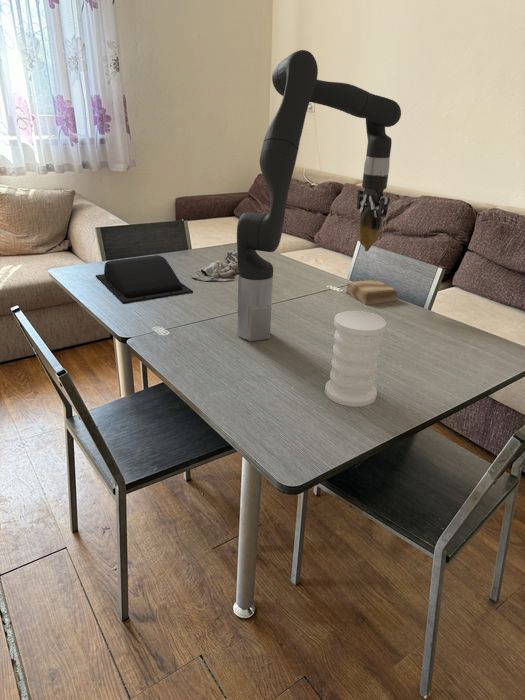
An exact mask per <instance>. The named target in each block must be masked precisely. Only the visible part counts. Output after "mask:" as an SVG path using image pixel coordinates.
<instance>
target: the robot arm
mask: <svg viewBox="0 0 525 700" xmlns="http://www.w3.org/2000/svg"><path fill="white" fill-rule="evenodd" d="M318 71H319V69H318V63H317V60H316V57H315V56H314V54H313V53H311V51H309V50H305V49H300V50H297V51H294V52H292V53H290V54H289V55H288V56H287V57H286V58H284V59H283V60H281V61H280V62H279V63H278V64H277V65H276V66H275V68H274V69H273V71H272V75H271V81H272V82H271V83H272V85H273V87H274V89H275V91H276V92H277V93H278V94H279V95H280V96H281V97H282V100H281V101H280V102H281V103H280V104H279V107H278V109H277V111H276V113H275V114H274V117H273V118H272V121H271V122H270V124H269V126H268V128H267V131H266V133H265V135H264V137H263V141H262V148H261V151H260V156H259V167H260V171H261V174H262V177H263V178H264V179H263V180H264V182H265V185H266V187H267V190H268V194H269V198H270V199H269V200H270V201H269V202H270V204H269V205H270V206H269V211H268V214H267V213H266V214H265V213H258V212H247V211H246V212H243V213H242V214H240V216H239V218H238V221H237V225H236V250H237V258H236V259H237V260H236V262H237V263H236V264H238V269H239V274H238V275H239V276H238V280H237V281H238V283H237V287H238V289H237V324H236V325H237V333H236V334H237V336H238V337H239V338H241V339H243V340H247V341H248V342H255V341H262V340H270V339H271V328H272V326H271V324H272V323H271V321H272V305H273V304H272V302H273V285H274V284H273V282H274V266H273V264H272V263H271V262H270V261H268V260H266V259H264V258H263V257H261V256H260V255H259V254H258V253H257V252H258V251H259V252H265V253H273V252H276V250H277V249H278V247H280V246H279V245H280V242H281V239H282V235H283V229H284V222H285V214H286V209H287V202H288V196H289V190H290V187H291V183H292V179H293V174H294V170H295V166H296V161H297V158H298V153H299V148H300V142H301V137H302V134H303V129H304V126H305V119H306V116H307V112H308V108H309V105H310V103H312V104H317V105H320V106H325V107H329V108H332V109H335V110H338V111H340V112H343V113H346V114H348V115H351V116H353V117H355V118H359V119H360V118H361V119H365V129H366V136H367V137H366V138H367V145H366V146H367V148H366V156H365V161H364V164H363V165H364V166H363V172H362V173H363V174H362V184H361V186H362V188H363V189H358V190H357V195H356V197H357V201H356V209H357V210H359V212H360V216H359V217H360V218H361V216H362V214H363V212H364V211H365V209H366V208H367V207H368V206H371V209H372V211H373V213H374V218H373V226H372V229H373V230H378V229H379V227H380V221H381V219H382V218H384V217H387V215H388V211H389V210H388V209H389V203H390V200H391V199H390V197H388V196H387V197H386V196H384V191H385V190H386V189H387V188H388V179H389V173H390V172H389V171H390V166H391V165H390V162H391V160H390V159H391V152H392V151H391V150H392V145H393V144H392V143H393V142H392V138H391V137H390V136H389V135H388V134H387V133H386V128H390V127H393V126H395V125H397V124H398V122H400V119H401V117H402V109H401V106H400V105H399V104H398V102H397V101H395V100H393V99H391V98H388V97H384V96H381V95H378V94H374V93H371V92H369V91H367V90H365V89H363V88H360V87H358V86H356V85H354V84H350V83H345V82H339V81H336V82H335V81H327V80H321V79H318V73H319V72H318ZM377 210H378V214H377ZM360 218H359V219H360Z"/></svg>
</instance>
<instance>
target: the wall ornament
mask: <svg viewBox="0 0 525 700" xmlns="http://www.w3.org/2000/svg"><path fill="white" fill-rule="evenodd" d="M234 257H236V258H234ZM223 259H224V260H223V261H224V262H222V261H221V260H217V261H212V262H211V263H210V264H208V265H207V266H203V267H201V268H200V269H195V270H194V271H193V273H196V274H195V276H193V275H194V274H193V273H190V275H189V278H192V279H196V280H199V281H203V282H208V281H215V282H216V281H219V282H226V281H238V276H239V274H238V273H239V269H238V263H237V260H236V259H237V249H236V250H234V249H231V250H227V253H226V256H224V258H223ZM230 261H232V262H230ZM203 272H205V273H206V275H204V274H203ZM191 274H192V275H191ZM233 278H234V279H233Z"/></svg>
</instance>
